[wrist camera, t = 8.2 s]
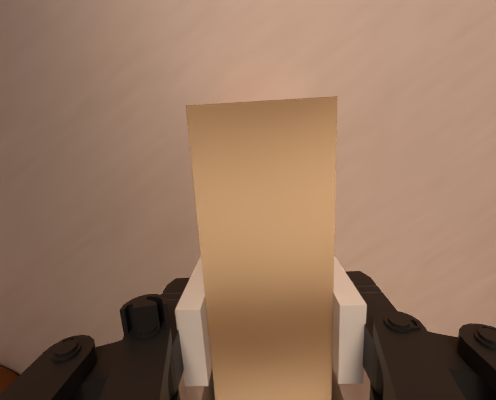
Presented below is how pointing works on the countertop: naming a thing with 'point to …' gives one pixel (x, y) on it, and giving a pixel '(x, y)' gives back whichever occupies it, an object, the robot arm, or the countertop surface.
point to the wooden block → (267, 243)
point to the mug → (6, 378)
